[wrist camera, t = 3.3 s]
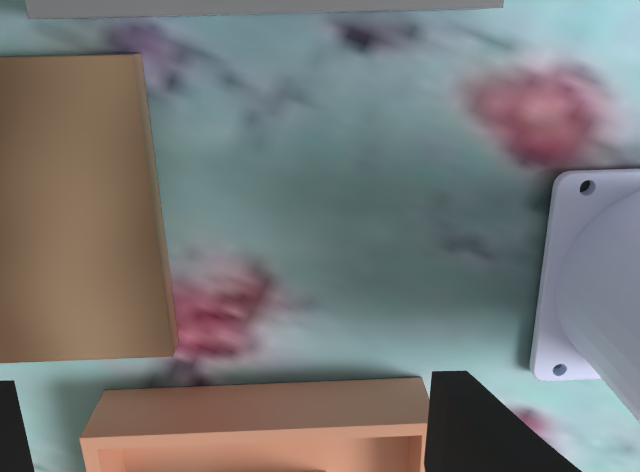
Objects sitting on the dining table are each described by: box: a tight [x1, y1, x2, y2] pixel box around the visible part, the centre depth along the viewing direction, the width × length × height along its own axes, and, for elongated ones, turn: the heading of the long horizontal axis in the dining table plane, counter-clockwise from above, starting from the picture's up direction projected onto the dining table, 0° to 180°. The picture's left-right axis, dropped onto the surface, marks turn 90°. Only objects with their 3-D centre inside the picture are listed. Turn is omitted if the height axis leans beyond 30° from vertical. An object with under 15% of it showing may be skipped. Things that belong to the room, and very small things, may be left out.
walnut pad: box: [0, 53, 179, 363], centre depth 18 cm, size 10×10×1 cm
